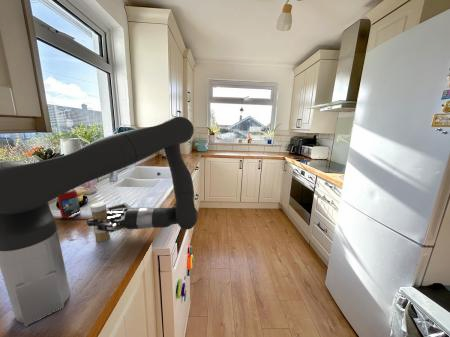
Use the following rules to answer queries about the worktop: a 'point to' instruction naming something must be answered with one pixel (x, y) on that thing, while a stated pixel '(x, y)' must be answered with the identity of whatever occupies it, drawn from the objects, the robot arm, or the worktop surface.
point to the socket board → (117, 208)
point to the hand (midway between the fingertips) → (92, 219)
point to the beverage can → (68, 203)
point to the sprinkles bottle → (99, 213)
